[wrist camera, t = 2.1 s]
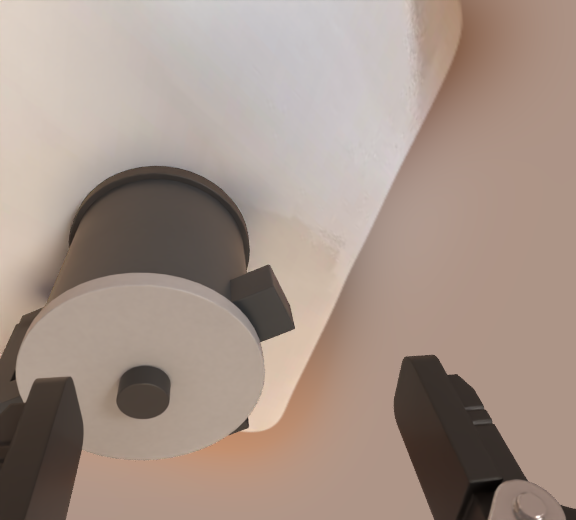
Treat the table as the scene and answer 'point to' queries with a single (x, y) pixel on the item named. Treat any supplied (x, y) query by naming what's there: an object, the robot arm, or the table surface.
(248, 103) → the table surface
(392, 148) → the table surface
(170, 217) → the kettle jug
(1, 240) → the table surface
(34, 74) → the table surface
